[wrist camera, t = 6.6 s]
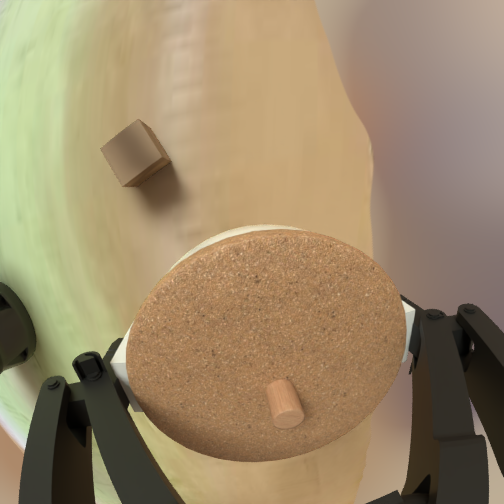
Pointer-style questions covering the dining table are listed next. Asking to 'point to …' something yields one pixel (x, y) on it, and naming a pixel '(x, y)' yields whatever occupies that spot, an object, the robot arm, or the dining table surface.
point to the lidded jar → (266, 343)
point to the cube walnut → (135, 154)
